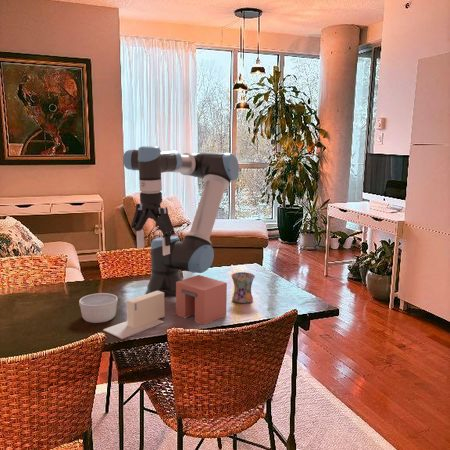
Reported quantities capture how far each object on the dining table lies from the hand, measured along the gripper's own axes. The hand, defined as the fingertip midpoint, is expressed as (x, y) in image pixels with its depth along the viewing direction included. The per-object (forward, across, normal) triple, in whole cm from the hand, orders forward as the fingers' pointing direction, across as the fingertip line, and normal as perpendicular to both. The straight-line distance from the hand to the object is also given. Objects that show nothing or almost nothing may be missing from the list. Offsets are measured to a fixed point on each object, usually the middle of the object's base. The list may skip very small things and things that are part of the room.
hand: (153, 251), depth 159 cm
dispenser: (+25, +12, +11) cm, 30 cm away
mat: (+24, +2, -12) cm, 27 cm away
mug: (+26, +13, +34) cm, 45 cm away
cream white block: (+24, +2, -7) cm, 25 cm away
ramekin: (+24, -14, -15) cm, 31 cm away
